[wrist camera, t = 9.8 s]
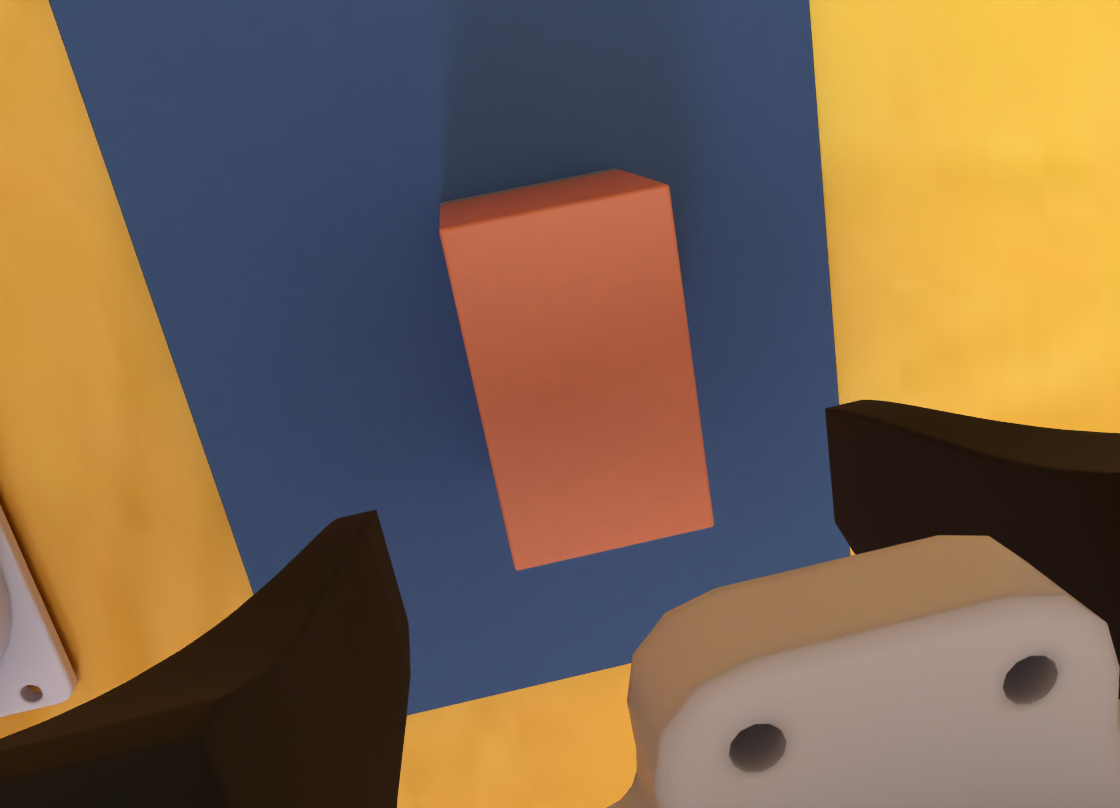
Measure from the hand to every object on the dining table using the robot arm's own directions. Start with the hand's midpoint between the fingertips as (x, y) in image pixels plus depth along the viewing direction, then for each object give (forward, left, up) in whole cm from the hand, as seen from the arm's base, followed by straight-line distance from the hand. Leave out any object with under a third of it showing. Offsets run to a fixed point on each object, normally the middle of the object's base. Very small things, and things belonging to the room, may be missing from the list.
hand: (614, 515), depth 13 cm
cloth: (-1, +1, -9) cm, 9 cm away
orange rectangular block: (0, +1, -9) cm, 9 cm away
